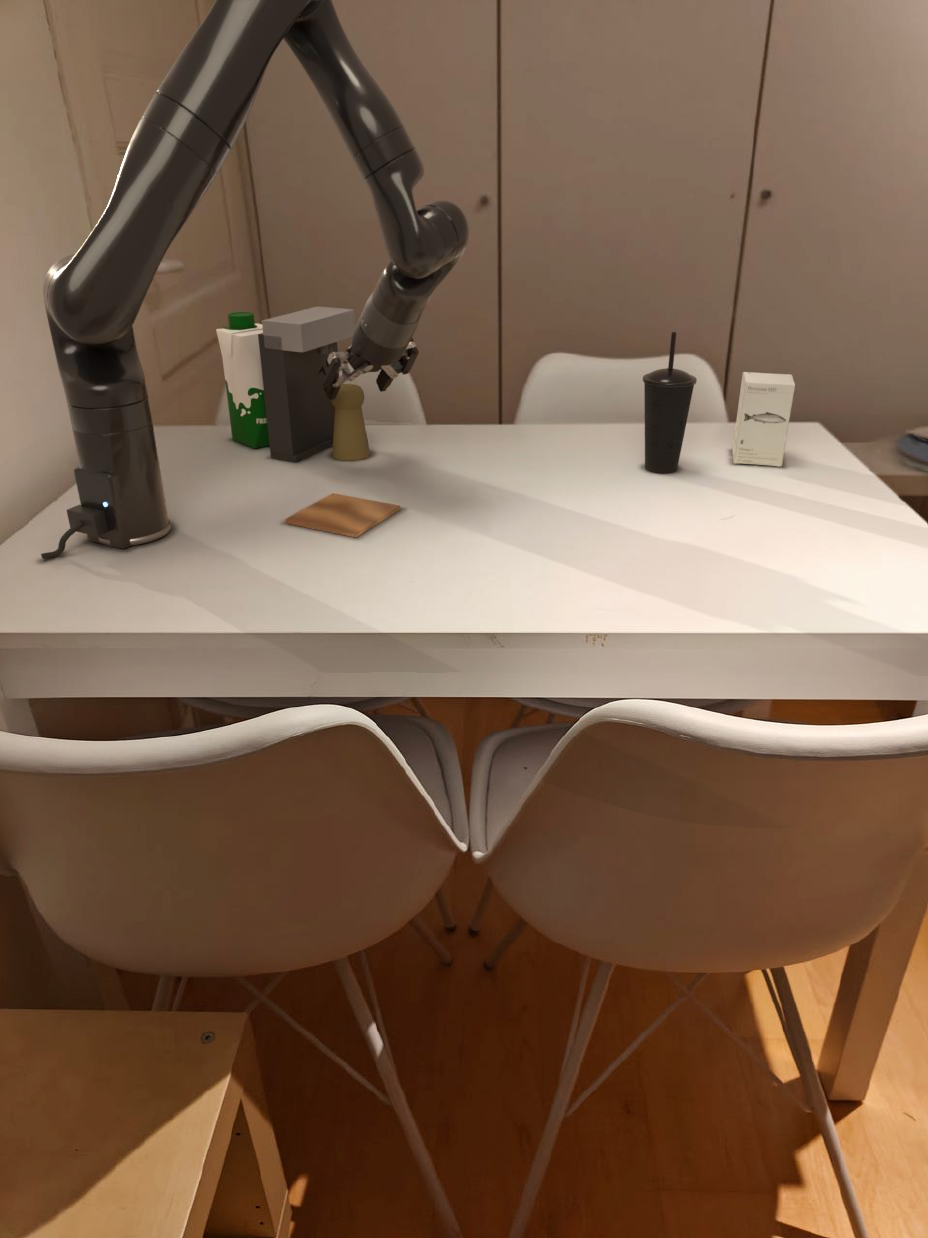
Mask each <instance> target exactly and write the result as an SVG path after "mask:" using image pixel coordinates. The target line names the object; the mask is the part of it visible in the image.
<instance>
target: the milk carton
mask: <svg viewBox="0 0 928 1238" xmlns="http://www.w3.org/2000/svg"><path fill="white" fill-rule="evenodd" d="M227 319H228V326H226V327H225V326H223V327H222V328H216V330H215V332H216V336H217V341H218V344H219V348H220V353H221V359H222V365H223V366H222V367H223V373H224V382H225V390H226V398H227V405H228V406H227V407H228V414H229V415H228V416H229V424H230V432H231V439H232V440H233V441H235V442H238V443H240V444H242V445H245V446H247V447H249V448H252V449H258V448H263V447H267V446H270V443H269V434H268V424H267V415H266V406H265V396H264V387H263V377H262V368H261V359H260V349H259V340H258V334H260V333H263V327H262V323H255V314H254V313H253V312H250V311H249V312H248V311H237V312H231V313H228V314H227Z"/></svg>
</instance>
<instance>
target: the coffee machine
mask: <svg viewBox="0 0 928 1238" xmlns="http://www.w3.org/2000/svg"><path fill="white" fill-rule="evenodd" d="M355 320H356V319H355V309H351V308H340V307H328V306H314V307H310V308H305V309H302V310H298V311H293V312H290V313H286V314H282V315H278V316H274V317H270V318H267V319H263V320H261V324H262V327H263V333H260V334H258V340H259V349H260V359H261V368H262V377H263V387H264V396H265V406H266V415H267V424H268V434H269V443H270V445H269V451H270V458H271V459H277V460H281V461H282V460H283V461H286V462H287V461H288V462H293V463H298V462H300V461H302V460H305V459H306V458H309V457H310V456H312V455H315V454H317V453H319V452H322V451H323V450H326V449H327V448H330V447H333V432H334V415H335V407H334V405H333V404H332V402H331V400H330V399H329V397H327V396H326V393H325V391H324V388H323V387H324V386H323V384H322V381H321V379H320V376H319V375H318V373H317V370H318V368H319V366H320V364H321V362H322V360H323V358H324V356H325V354H326V352H327V350H328V349H329V348H332V347H334V348H335V349H336V352H339V351H338V342H341V341H344V340H347V339H351V338H353V332H354V329H355V327H356V321H355ZM337 375H338V377H340V371H339V372H338V373H337Z"/></svg>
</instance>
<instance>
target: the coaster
mask: <svg viewBox="0 0 928 1238" xmlns="http://www.w3.org/2000/svg"><path fill="white" fill-rule="evenodd" d="M400 511H401V505H400V504H399V505H398V504H394V503H388V502H384V501H383V502H382V501H377V500H372V499H366V498H362V497H361V498H360V497H356V496H349V495H346V494H345V495H344V494H338V493H333V492H332V493H331V494H329V495H326V497H324V498H322V499H319V500H318V501H316V502H314V503H312V504H311V505H309V506H306V507H305V508H303V509H302V510H300V511H298V512H296V513H293V515H290V516H289V517H287V518H284V519H285V524H288V525H293V526H298V527H303V528H307V529H312V530H317V531H321V532H327V533H330V534H331V533H333V534H336V535H342V536H348V537H351V538H358V537H359V536H361V535H362V534H364V533H366V532H367V531H369V530H371V529H372V528H374V527H376V526H377V525H378V524H380V523H382V522H383V521H385V520H386V519H388V518H390V517H391V516H393V515H394V514H396V513H398V512H400Z"/></svg>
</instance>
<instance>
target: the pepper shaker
mask: <svg viewBox="0 0 928 1238" xmlns="http://www.w3.org/2000/svg"><path fill="white" fill-rule="evenodd" d="M340 386H341V387H340V389H339V392H338V394H337V396H336V398H335V399H333V400H331V402H332V404H333V405H334V407H335V415H334V432H333V445H332V450H331V451H332V453H331V456H332V458H334V459H335V460H338V461H351V462H352V461H359V460H360V461H361V460H364V459H367V458H369V457H370V455H371V450H370V445H369V439H368V434H367V429H366V423H365V418H364V413H363V408H362V406H363V405H364V402H365V392H364V390H363V388H362V387H361V386H360V385H358V384H355V383H354V384H353V383H343V384H342V385H340Z"/></svg>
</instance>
